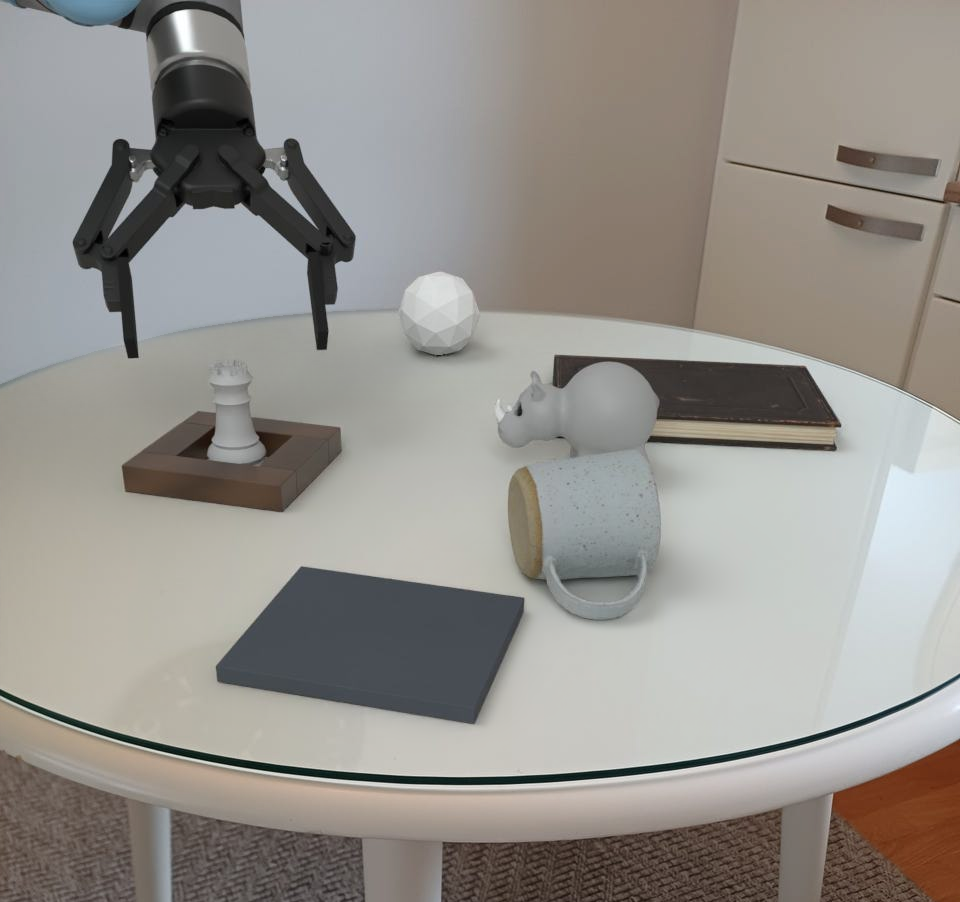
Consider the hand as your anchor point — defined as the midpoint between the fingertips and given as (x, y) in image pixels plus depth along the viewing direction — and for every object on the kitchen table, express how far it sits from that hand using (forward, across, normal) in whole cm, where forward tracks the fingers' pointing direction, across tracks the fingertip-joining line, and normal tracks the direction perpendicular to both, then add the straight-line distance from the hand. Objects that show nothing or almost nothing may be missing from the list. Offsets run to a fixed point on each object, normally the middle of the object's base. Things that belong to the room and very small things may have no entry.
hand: (228, 345), depth 81 cm
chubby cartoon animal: (+11, -24, -1) cm, 27 cm away
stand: (+8, 0, -4) cm, 9 cm away
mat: (+27, -6, +14) cm, 31 cm away
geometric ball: (-11, -21, -24) cm, 34 cm away
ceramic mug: (+23, -20, +11) cm, 33 cm away
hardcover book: (+3, -38, -10) cm, 40 cm away
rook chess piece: (+8, 0, -5) cm, 9 cm away
